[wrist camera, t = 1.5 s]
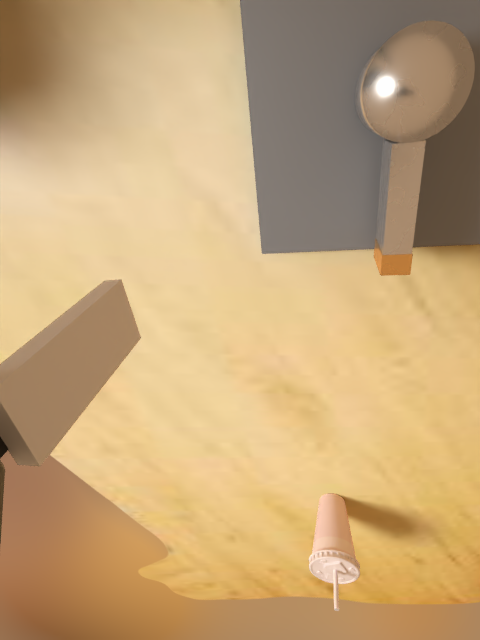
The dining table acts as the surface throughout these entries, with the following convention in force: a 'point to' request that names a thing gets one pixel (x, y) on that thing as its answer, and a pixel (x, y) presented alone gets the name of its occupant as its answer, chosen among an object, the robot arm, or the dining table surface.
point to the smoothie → (333, 545)
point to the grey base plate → (347, 125)
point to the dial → (410, 122)
